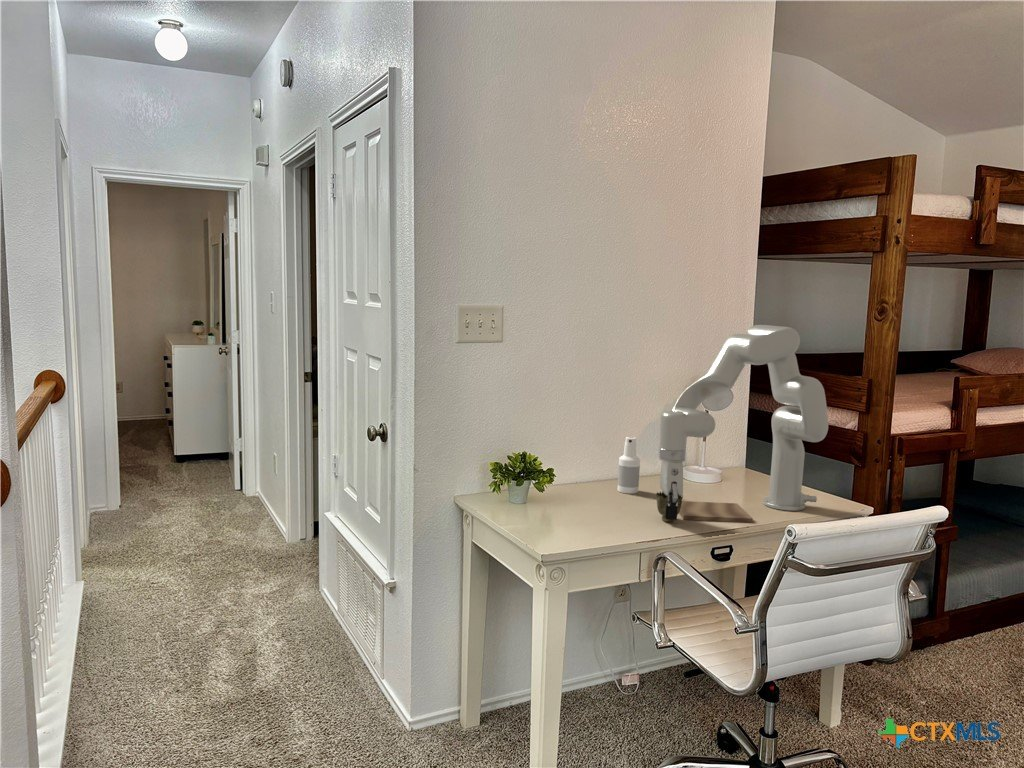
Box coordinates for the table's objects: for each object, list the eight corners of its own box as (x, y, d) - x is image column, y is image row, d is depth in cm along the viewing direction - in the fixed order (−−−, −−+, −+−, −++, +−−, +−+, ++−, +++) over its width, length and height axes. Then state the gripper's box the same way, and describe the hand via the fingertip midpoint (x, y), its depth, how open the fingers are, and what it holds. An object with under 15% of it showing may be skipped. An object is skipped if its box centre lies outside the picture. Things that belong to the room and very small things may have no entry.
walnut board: (736, 507, 236) (737, 503, 236) (752, 522, 221) (752, 518, 220) (672, 504, 237) (672, 500, 236) (683, 519, 221) (683, 515, 221)
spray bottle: (616, 492, 248) (619, 438, 246) (618, 487, 255) (621, 435, 253) (637, 494, 246) (640, 440, 244) (638, 489, 253) (642, 436, 251)
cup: (652, 516, 222) (653, 490, 221) (676, 517, 223) (678, 490, 222) (658, 524, 215) (660, 497, 214) (684, 525, 215) (686, 497, 214)
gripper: (692, 461, 208) (688, 525, 210) (679, 448, 225) (675, 507, 227) (664, 460, 208) (660, 524, 210) (653, 447, 225) (650, 506, 227)
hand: (668, 515), depth 219 cm, fingers closed on cup, 6 cm apart
